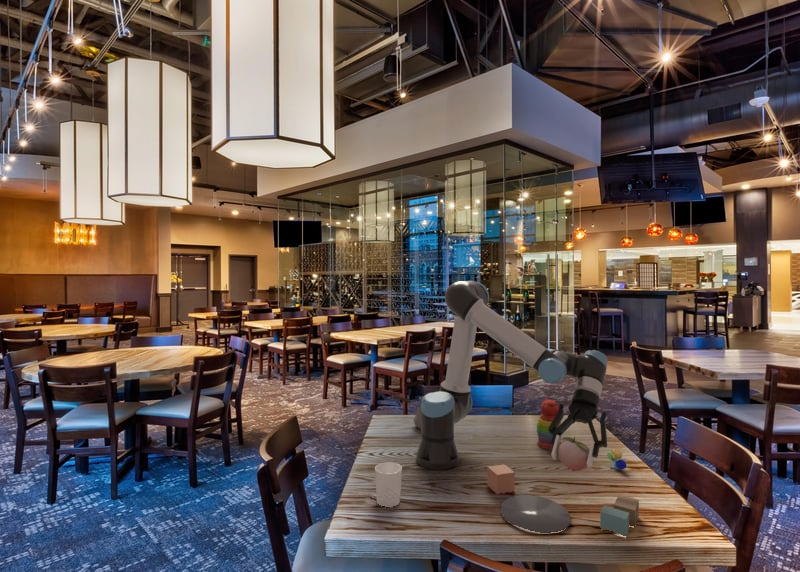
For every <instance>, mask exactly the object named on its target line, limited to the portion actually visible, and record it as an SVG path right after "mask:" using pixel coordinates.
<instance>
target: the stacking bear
mask: <svg viewBox="0 0 800 572" xmlns="http://www.w3.org/2000/svg"><path fill="white" fill-rule="evenodd" d="M540 409H541V414H540V415H539V417H538V419H537V423H536V433H537V434H536V435H537V438H538V439H537V442H536V445H537V446H538V447H539V448H542V449H544V448H545V450H549V451H552V450H553V447H552V445H551V441H552V437H553V435H550V433H549V431H548V428H549V426H550V424H551V423H552V421H553V419H554V418H555V416H556V414H557V413H558V411H559V405H558V404H557V402H556V401H555V400H552V399H548V398H545V399H544V401H543V402H542V403H541V406H540ZM561 422H562V421H561ZM561 422H560V424H559V425H558V427H559V426H560V425H561V424H562V423H561ZM558 427H557V428H558ZM560 438H561V439H562V435H561V436H560ZM561 443H562V441H561V442H560V444H561Z"/></svg>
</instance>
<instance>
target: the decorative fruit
mask: <svg viewBox="0 0 800 572" xmlns="http://www.w3.org/2000/svg"><path fill="white" fill-rule="evenodd" d="M562 440H563V441H561V444H560V445H559V447H558V453H557V457H558V459H559V460H560V462H561V464H562V465H564V466H565V467H567V468H568V469H570V470H571V471H573V472H577V471H581V470H584V469H585V468H588V467H587V459H588V455H589V450H590V447H588V446H587V445H586V444H585V443H583V442H581V441H577V440H576V437H573V438H572V437H568V436H565V437H562Z"/></svg>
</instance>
